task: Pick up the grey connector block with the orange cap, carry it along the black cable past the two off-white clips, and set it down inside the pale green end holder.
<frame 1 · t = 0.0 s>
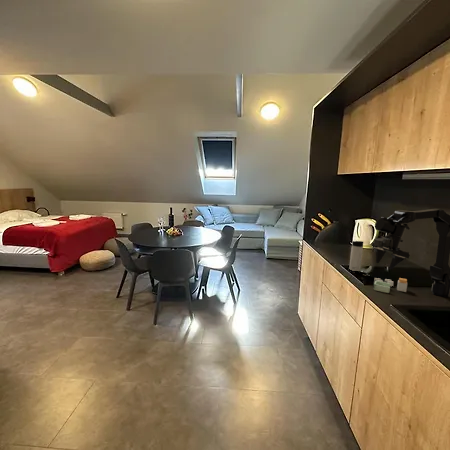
hand: (383, 265, 131), 15 cm above the counter, tool pointing down, fingers open, 9 cm apart
clip one: (388, 284, 149), on the counter
travel mug: (354, 271, 171), on the counter
clip two: (378, 283, 150), on the counter
end holder: (381, 289, 142), on the counter
cable: (383, 284, 150), resting on clip one
connector block: (401, 290, 143), on the counter
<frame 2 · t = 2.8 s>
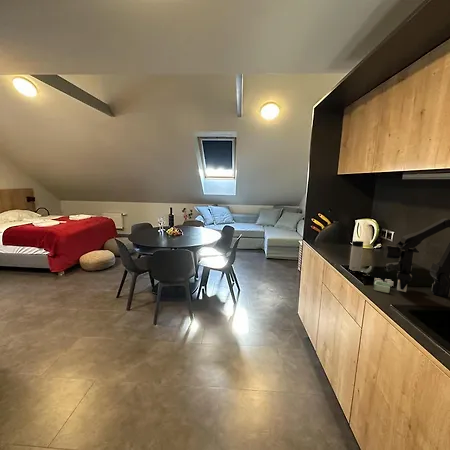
hand: (401, 288, 142), 1 cm above the counter, tool pointing down, fingers closed on connector block, 4 cm apart
connector block: (401, 289, 143), on the counter, touching gripper
everything else where it was.
when the fingers open (3 cm above the counter, at t = 7.1 s): connector block drops 2 cm, resting on end holder.
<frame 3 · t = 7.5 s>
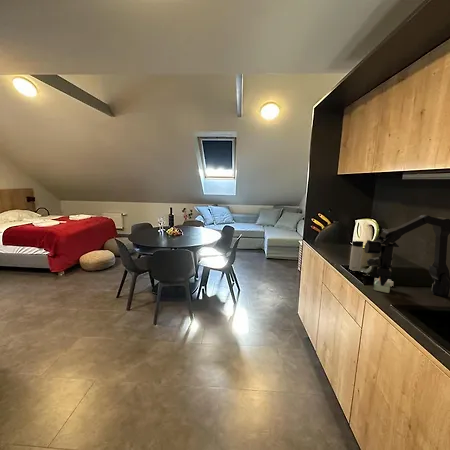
hand: (382, 283, 142), 3 cm above the counter, tool pointing down, fingers open, 9 cm apart
connector block: (381, 288, 142), resting on end holder
everything else where it was.
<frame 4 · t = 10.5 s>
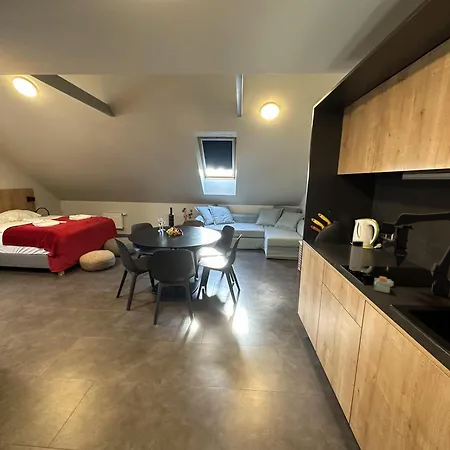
hand: (397, 264, 147), 12 cm above the counter, tool pointing down, fingers open, 9 cm apart
nothing on the counter moved.
at the end: connector block 0.2 cm off-centre on the end holder, point 0.5 cm above the end holder's base; connector block tilted 0°; the gripper is holding nothing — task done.
